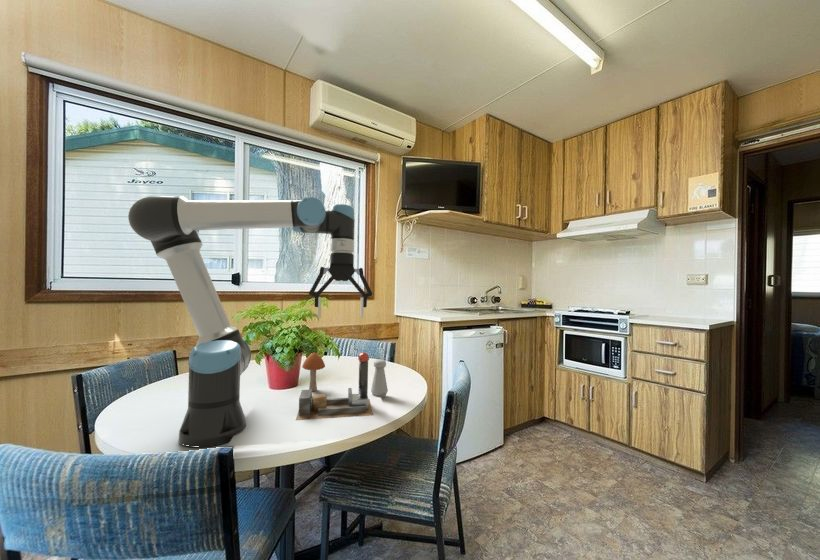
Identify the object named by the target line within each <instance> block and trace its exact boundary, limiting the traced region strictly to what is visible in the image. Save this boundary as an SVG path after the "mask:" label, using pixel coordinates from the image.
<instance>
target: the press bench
mask: <svg viewBox="0 0 820 560" xmlns="http://www.w3.org/2000/svg"><path fill="white" fill-rule="evenodd" d="M312 394H313V392H312V390H309V389H302V390H301V392H300V395H299V398H298V411H297V414H296V418H295V421H303V420H319V419H334V418H335V419H337V418H349V417H362V416H363V417H365V416H367V417H369V416H374V415H375V414H374V411H373V408H372V404H371V400H370V399H369V403H368V409H366V406H351V407H348V397H339V398H327V406H326V408H319V409H318V412H313V411H312V396H313V395H312Z"/></svg>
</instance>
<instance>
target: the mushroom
mask: <svg viewBox="0 0 820 560" xmlns="http://www.w3.org/2000/svg"><path fill="white" fill-rule="evenodd" d="M301 367H302V368H303V369H304V370H307V371H309V372H310V373H309V387H308V390H312V393H313V392H317V390H318V387H317V371H319V370H323V369H324V368H325V367H326V364H325V361H324V360H323V358H322V356H320V355H319V354H318V353H317V352H315V351H314V352H312V353H311V354H309V355H308V356H307V357H306V359H305V360H304V361H303V364H302V366H301Z"/></svg>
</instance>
